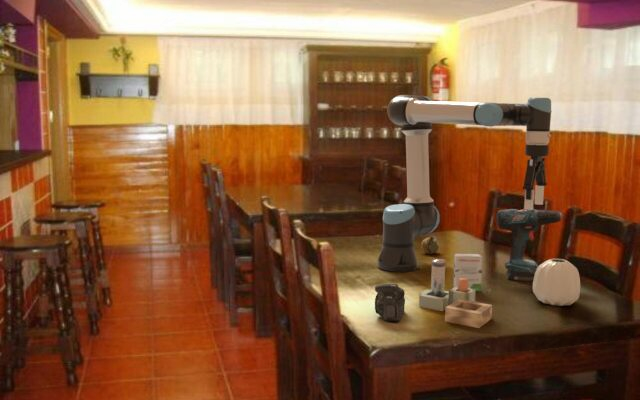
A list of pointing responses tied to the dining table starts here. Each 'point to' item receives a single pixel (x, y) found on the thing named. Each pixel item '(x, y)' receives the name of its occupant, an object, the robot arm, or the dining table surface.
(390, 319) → the camera
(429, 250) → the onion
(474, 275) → the ink box
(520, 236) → the power drill
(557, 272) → the vase
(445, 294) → the socket block
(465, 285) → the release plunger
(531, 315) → the dining table surface
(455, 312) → the block
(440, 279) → the metal peg
